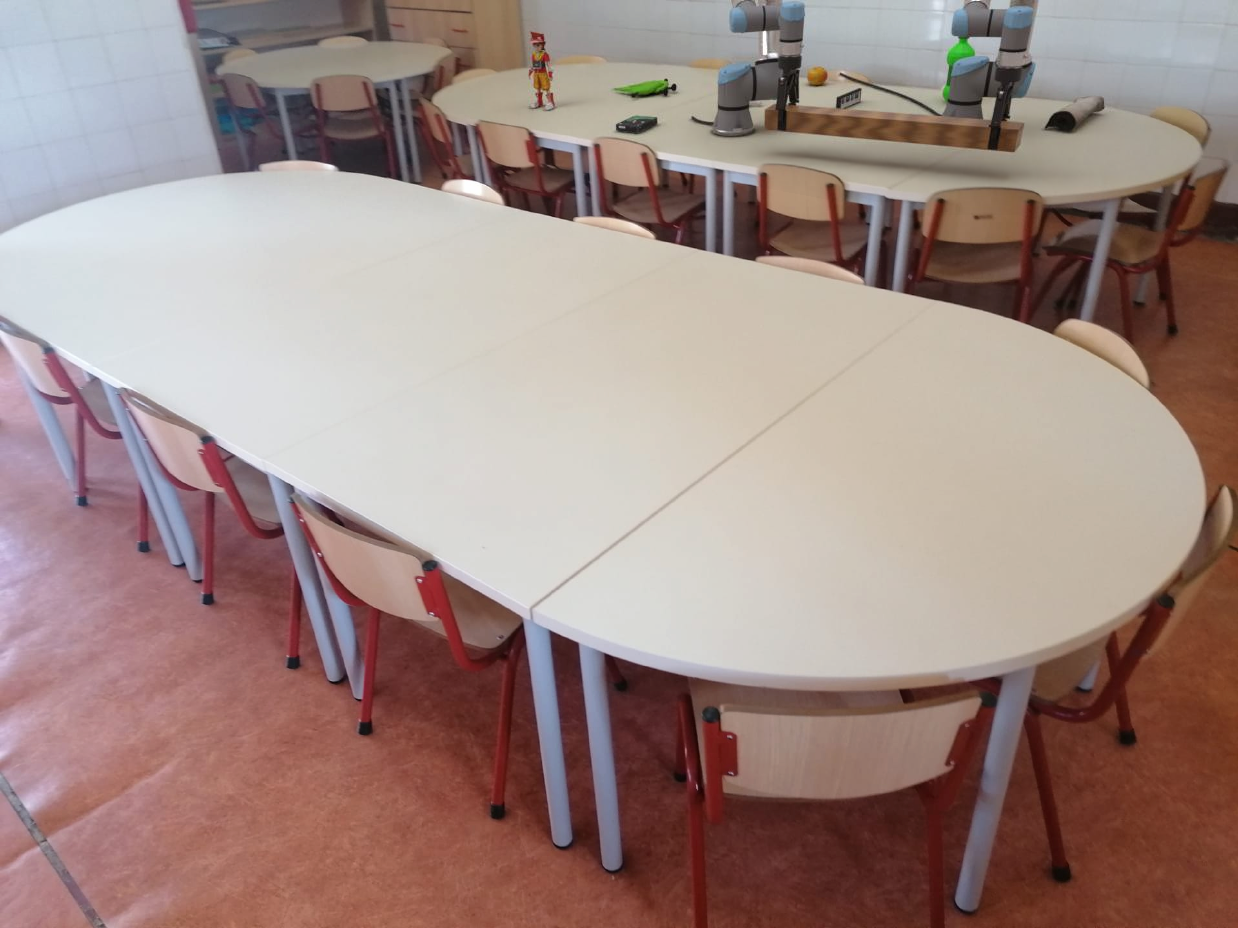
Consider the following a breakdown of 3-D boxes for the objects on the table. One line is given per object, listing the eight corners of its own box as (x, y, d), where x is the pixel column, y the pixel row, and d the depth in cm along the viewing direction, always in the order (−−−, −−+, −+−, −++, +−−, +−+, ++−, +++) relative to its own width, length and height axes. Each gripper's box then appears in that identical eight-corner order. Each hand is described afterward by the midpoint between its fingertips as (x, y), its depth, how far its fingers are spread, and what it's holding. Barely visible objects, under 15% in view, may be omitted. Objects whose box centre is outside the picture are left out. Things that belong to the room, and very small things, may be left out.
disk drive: (638, 134, 340) (658, 124, 350) (638, 126, 338) (657, 116, 349) (615, 131, 345) (635, 121, 355) (615, 124, 343) (635, 114, 353)
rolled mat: (1071, 101, 334) (1096, 83, 326) (1085, 121, 335) (1110, 105, 327) (1040, 123, 317) (1065, 105, 309) (1054, 144, 318) (1080, 127, 309)
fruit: (802, 77, 388) (813, 60, 385) (805, 81, 396) (816, 64, 392) (818, 88, 386) (829, 71, 383) (820, 91, 394) (832, 74, 391)
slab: (764, 130, 305) (764, 109, 302) (773, 123, 311) (774, 103, 307) (1014, 152, 269) (1018, 129, 265) (1020, 145, 275) (1024, 122, 271)
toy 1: (525, 109, 381) (517, 32, 364) (534, 104, 388) (527, 28, 371) (550, 110, 377) (543, 32, 360) (559, 105, 384) (553, 28, 367)
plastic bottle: (973, 101, 354) (984, 32, 339) (955, 106, 349) (966, 36, 335) (952, 97, 361) (962, 29, 346) (934, 102, 356) (944, 33, 342)
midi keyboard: (838, 111, 353) (839, 97, 350) (835, 110, 353) (836, 97, 350) (860, 101, 363) (861, 88, 360) (857, 101, 364) (859, 88, 361)
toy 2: (686, 85, 398) (631, 84, 414) (685, 72, 395) (629, 72, 411) (651, 104, 381) (596, 103, 397) (650, 92, 378) (594, 91, 394)
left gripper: (789, 62, 283) (785, 136, 296) (812, 49, 298) (807, 119, 311) (767, 61, 286) (764, 134, 299) (790, 48, 301) (786, 118, 314)
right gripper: (1016, 74, 253) (1001, 156, 266) (1030, 59, 268) (1014, 137, 281) (988, 73, 256) (974, 153, 269) (1003, 58, 271) (989, 135, 284)
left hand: (786, 126), depth 305 cm, fingers closed on slab, 8 cm apart
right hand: (995, 145), depth 275 cm, fingers closed on slab, 8 cm apart
